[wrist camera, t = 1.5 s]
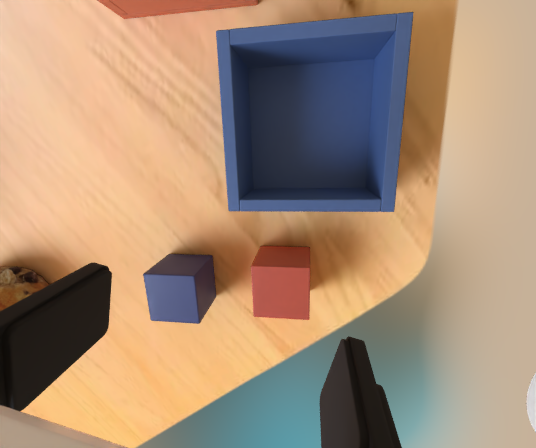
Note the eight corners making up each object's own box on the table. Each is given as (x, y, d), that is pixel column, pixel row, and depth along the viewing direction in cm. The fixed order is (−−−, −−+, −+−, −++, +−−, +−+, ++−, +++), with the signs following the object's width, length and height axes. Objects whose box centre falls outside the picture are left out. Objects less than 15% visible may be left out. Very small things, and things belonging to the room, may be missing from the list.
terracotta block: (309, 246, 24) (310, 268, 20) (309, 291, 25) (309, 320, 21) (260, 245, 25) (251, 266, 21) (262, 289, 26) (253, 316, 22)
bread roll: (11, 270, 34) (-78, 318, 28) (12, 240, 28) (-104, 294, 22) (68, 327, 36) (-6, 384, 30) (83, 311, 29) (-9, 381, 23)
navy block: (212, 254, 26) (194, 275, 22) (216, 296, 27) (199, 324, 23) (169, 253, 26) (142, 273, 22) (174, 294, 28) (150, 320, 23)
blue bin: (384, 48, 19) (413, 11, 14) (373, 196, 22) (394, 212, 17) (239, 59, 21) (215, 30, 16) (246, 196, 24) (228, 211, 18)
